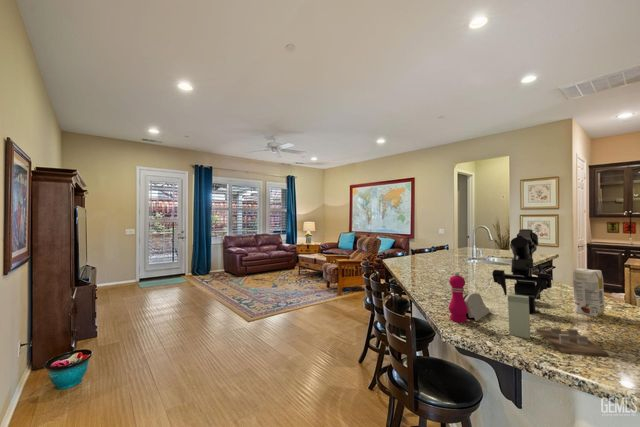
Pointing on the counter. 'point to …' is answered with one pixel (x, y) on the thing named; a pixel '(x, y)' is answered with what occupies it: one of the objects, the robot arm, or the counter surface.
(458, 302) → the pepper mill
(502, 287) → the robot arm
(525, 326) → the door
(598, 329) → the counter surface
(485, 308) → the grey rounded slab
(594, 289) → the juice carton
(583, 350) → the plate
